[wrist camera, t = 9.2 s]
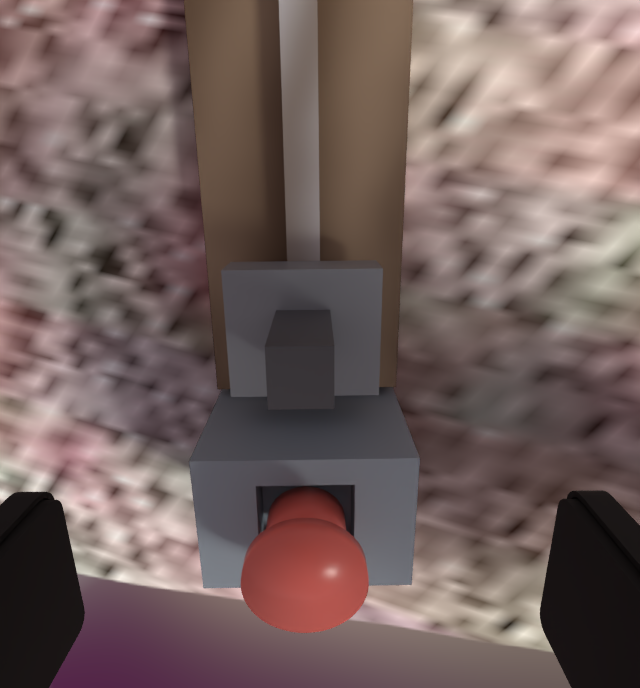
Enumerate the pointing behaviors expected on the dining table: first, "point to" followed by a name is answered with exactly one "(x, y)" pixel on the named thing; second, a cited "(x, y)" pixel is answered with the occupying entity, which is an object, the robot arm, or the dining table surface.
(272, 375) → the carriage
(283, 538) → the button
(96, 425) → the dining table surface
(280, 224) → the board
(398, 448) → the end cabinet
